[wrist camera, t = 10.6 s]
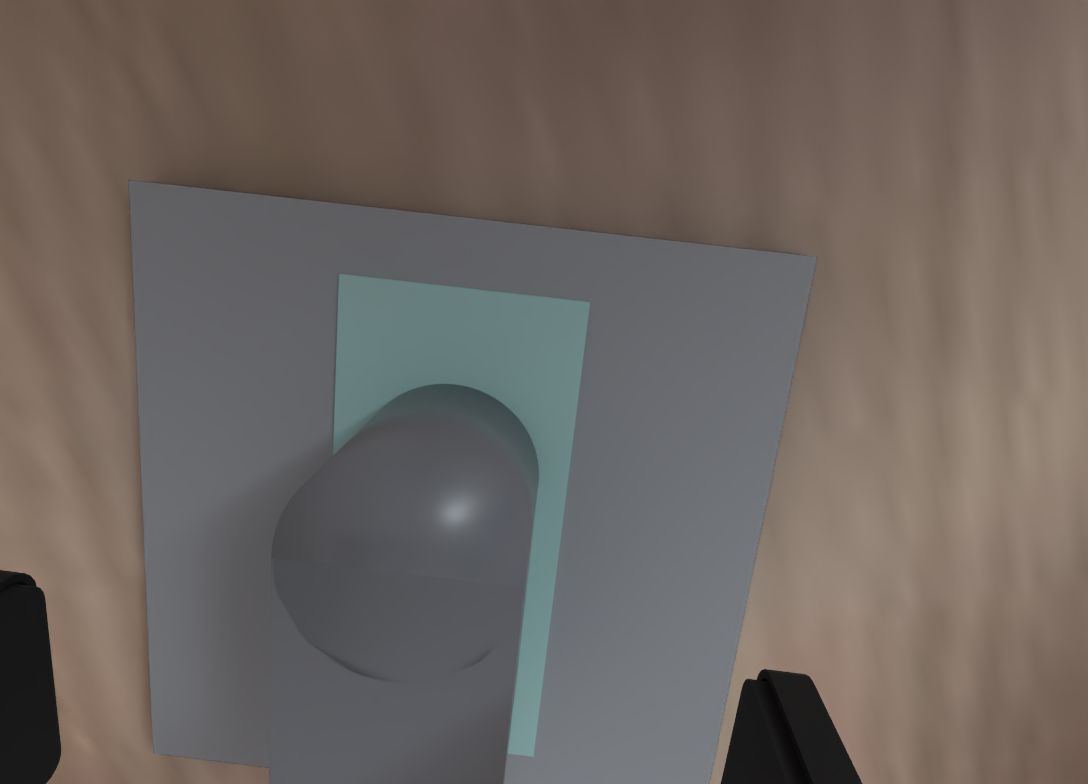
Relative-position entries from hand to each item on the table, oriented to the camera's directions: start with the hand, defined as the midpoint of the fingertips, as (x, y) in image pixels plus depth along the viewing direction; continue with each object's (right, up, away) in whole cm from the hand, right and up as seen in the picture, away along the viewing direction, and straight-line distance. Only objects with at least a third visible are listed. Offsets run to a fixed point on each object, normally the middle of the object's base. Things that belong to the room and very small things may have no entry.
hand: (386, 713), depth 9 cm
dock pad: (0, +1, +7) cm, 7 cm away
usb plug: (0, 0, +6) cm, 7 cm away
